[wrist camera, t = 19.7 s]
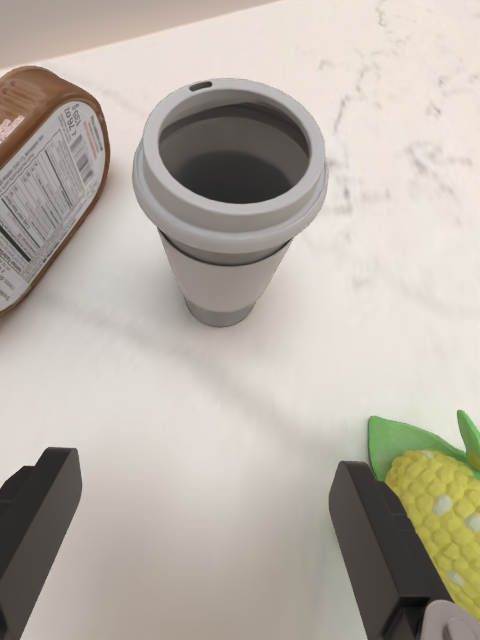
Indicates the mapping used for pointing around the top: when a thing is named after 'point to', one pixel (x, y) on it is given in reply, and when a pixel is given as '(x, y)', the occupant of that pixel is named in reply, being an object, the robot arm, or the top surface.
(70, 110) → the tin
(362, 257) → the top surface
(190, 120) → the cup
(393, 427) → the corn
